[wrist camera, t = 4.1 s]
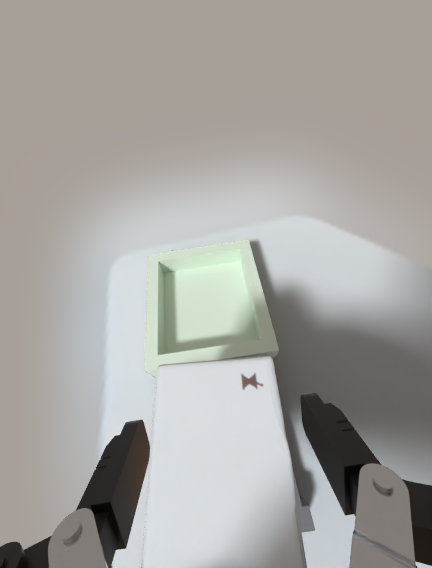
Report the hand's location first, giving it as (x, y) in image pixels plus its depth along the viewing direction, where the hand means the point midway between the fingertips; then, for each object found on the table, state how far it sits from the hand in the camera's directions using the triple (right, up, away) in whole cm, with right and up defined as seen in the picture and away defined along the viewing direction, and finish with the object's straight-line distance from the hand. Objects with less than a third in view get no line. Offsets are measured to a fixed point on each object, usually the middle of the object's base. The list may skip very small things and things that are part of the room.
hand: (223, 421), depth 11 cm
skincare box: (+1, -5, +5) cm, 7 cm away
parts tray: (-1, +4, +11) cm, 12 cm away
